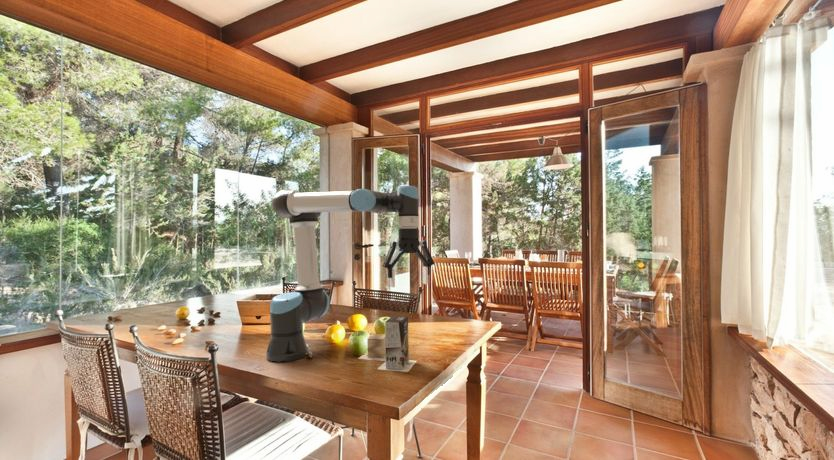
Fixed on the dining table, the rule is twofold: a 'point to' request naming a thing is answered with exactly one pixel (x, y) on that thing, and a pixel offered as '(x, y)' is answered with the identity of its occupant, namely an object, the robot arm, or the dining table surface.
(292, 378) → the dining table surface
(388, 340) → the coffee box
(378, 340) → the oak block
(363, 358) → the code tile
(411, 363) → the tile
